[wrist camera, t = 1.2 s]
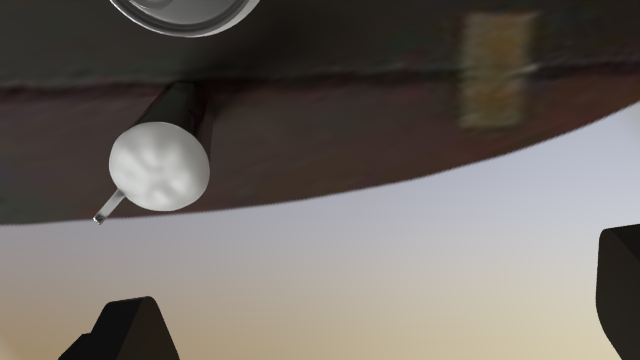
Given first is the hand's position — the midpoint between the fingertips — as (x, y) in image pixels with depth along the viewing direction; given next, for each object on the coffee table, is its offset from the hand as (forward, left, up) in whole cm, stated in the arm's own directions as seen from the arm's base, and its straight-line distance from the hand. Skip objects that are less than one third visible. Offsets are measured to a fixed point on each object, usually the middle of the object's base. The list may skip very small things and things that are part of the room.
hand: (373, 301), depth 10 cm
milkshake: (-8, -5, -24) cm, 25 cm away
